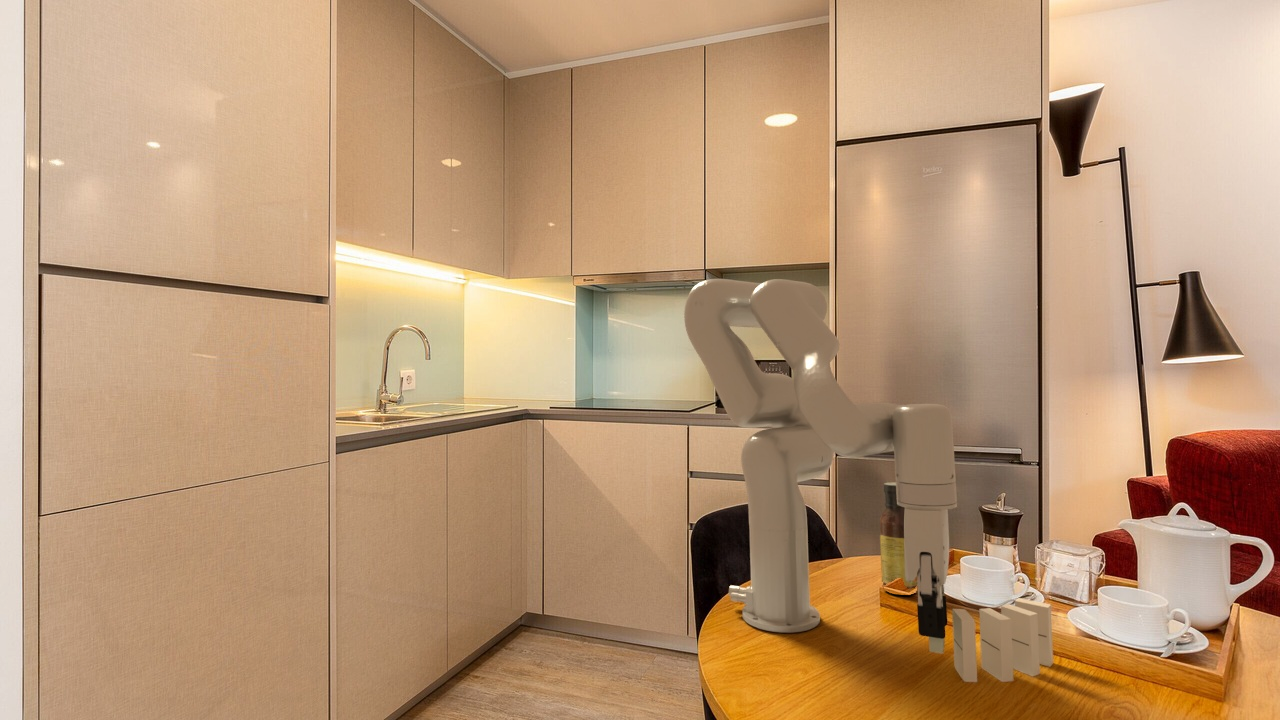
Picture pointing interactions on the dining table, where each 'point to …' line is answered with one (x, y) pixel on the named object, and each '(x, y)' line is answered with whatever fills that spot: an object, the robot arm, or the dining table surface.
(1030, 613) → the domino
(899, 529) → the sauce bottle
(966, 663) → the domino
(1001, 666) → the domino
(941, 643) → the sage domino
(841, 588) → the dining table surface
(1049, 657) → the domino
